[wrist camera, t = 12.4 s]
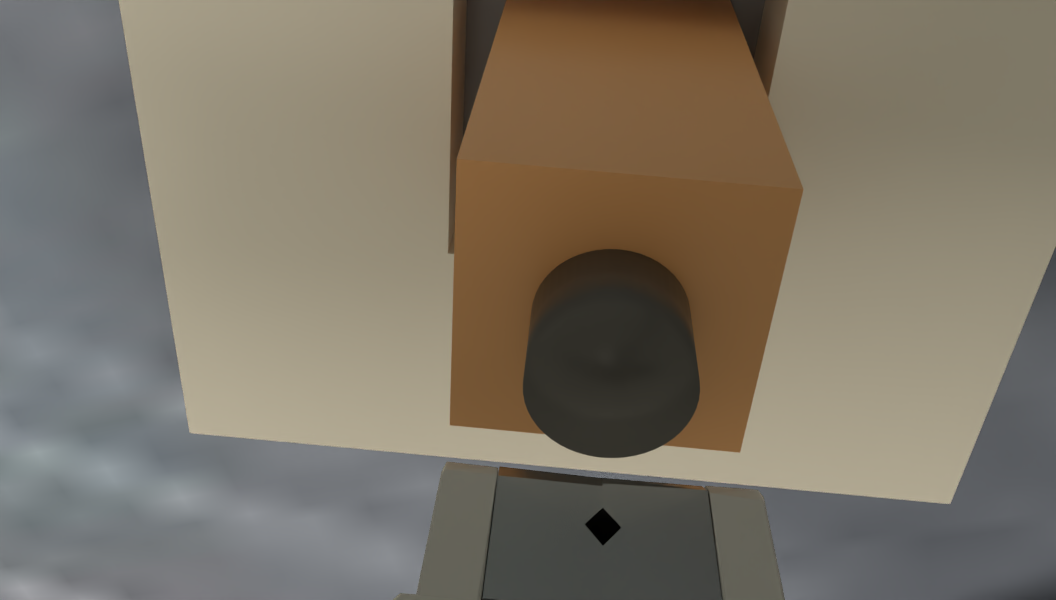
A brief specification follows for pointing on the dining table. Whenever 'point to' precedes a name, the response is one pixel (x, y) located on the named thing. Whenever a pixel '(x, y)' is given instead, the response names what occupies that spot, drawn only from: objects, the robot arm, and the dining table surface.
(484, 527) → the robot arm
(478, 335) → the plug
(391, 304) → the socket block
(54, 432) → the dining table surface
